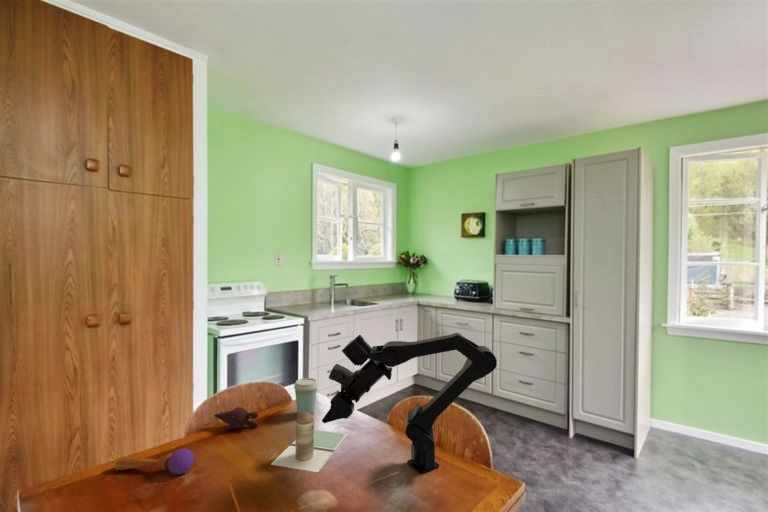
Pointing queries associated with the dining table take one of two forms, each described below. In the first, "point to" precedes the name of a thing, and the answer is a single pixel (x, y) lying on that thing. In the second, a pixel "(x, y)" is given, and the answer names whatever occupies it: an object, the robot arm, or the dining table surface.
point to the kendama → (160, 462)
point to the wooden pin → (304, 436)
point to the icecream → (238, 418)
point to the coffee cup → (306, 395)
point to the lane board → (322, 451)
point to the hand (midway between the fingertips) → (327, 414)
